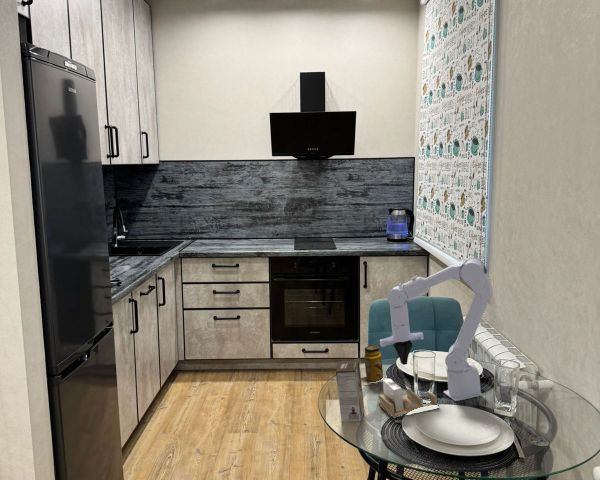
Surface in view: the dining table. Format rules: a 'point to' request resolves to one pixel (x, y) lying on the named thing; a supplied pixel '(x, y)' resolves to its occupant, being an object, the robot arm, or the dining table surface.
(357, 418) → the coffee box
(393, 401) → the panel
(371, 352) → the condiment
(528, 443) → the dining table surface
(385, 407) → the rack
